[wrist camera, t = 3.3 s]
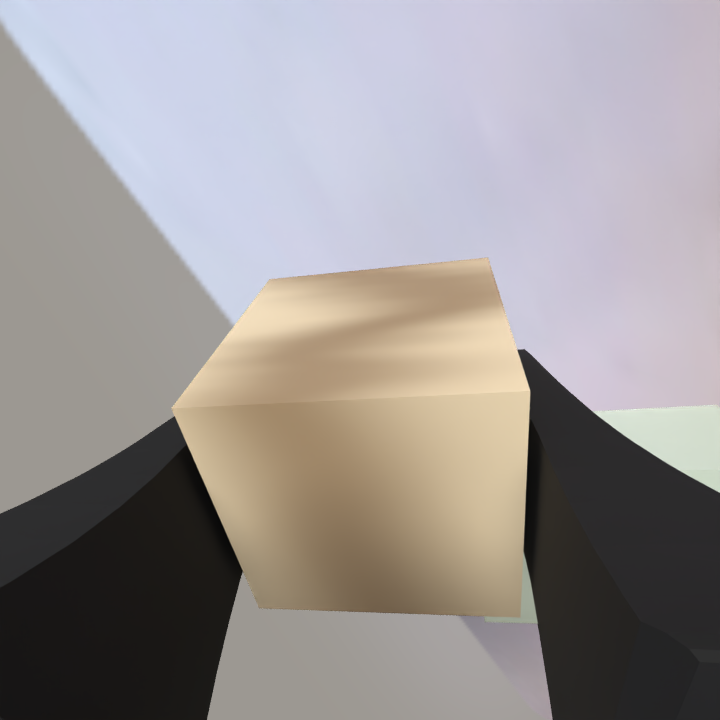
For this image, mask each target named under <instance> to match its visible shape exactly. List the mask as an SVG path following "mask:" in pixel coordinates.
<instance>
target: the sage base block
mask: <svg viewBox="0 0 720 720" xmlns="http://www.w3.org/2000/svg"><path fill="white" fill-rule="evenodd" d="M592 412H594V413H595V414H596V415H598V416H599V417H600V418H601V419H603V420H604V421H605V422H607V423H608V424H609V425H611V426H612V427H613V428H615V429H616V430H617V431H619V432H620V433H622V434H623V435H624V436H626V437H627V438H629V439H630V440H632V441H633V442H635V443H636V444H638V445H639V446H641V447H642V448H644V449H646V450H647V451H649V452H650V453H652V454H653V455H655V456H656V457H658V458H660V459H661V460H663V461H664V462H666V463H667V464H669V465H671V466H673V467H674V468H676V469H678V470H679V471H681V472H683V473H685V474H686V475H688V476H690V477H692V478H694V479H695V480H697V481H699V482H701V483H703V484H705V485H706V486H708V487H710V488H712V489H714V490H716V491H718V492H719V493H720V408H719V407H718V406H717V405H705V406H685V407H666V408H646V409H627V410H608V411H592ZM484 620H485V622H497V623H530V624H538V622H537V616H536V610H535V604H534V599H533V593H532V587H531V581H530V577H529V572H528V568H527V564H526V559H525V556H524V552H523V571H522V594H521V617H520V618H517V617H489V616H484Z"/></svg>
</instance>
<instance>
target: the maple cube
mask: <svg viewBox="0 0 720 720" xmlns="http://www.w3.org/2000/svg"><path fill="white" fill-rule="evenodd" d="M529 410H530V388H529V385H528V382H527V379H526V376H525V373H524V370H523V366H522V363H521V360H520V357H519V354H518V351H517V348H516V344H515V341H514V338H513V335H512V332H511V329H510V326H509V322H508V319H507V316H506V313H505V310H504V307H503V304H502V300H501V297H500V294H499V291H498V288H497V285H496V282H495V278H494V275H493V272H492V269H491V266H490V263H489V260H488V258H479V259H469V260H459V261H449V262H439V263H429V264H419V265H409V266H399V267H389V268H379V269H369V270H359V271H349V272H339V273H328V274H318V275H308V276H298V277H288V278H278V279H269V281H268V282H267V283H266V285H265V286H264V287H263V289H262V290H261V291H260V292H259V294H258V295H257V296H256V298H255V299H254V300H253V302H252V303H251V304H250V306H249V307H248V308H247V310H246V311H245V312H244V314H243V315H242V316H241V318H240V319H239V320H238V321H237V323H236V324H235V325H234V327H233V328H232V330H231V331H230V332H229V333H228V335H227V336H226V337H225V339H224V340H223V341H222V343H221V344H220V345H219V346H218V348H217V349H216V350H215V352H214V353H213V355H212V356H211V357H210V358H209V360H208V361H207V363H206V364H205V365H204V366H203V368H202V369H201V370H200V372H199V373H198V374H197V376H196V377H195V378H194V379H193V381H192V382H191V384H190V385H189V386H188V387H187V389H186V390H185V391H184V393H183V394H182V395H181V396H180V398H179V399H178V400H177V402H176V403H175V404H174V406H173V407H172V411H173V413H174V415H175V418H176V420H177V422H178V425H179V427H180V429H181V431H182V434H183V436H184V438H185V440H186V443H187V445H188V447H189V450H190V452H191V454H192V456H193V459H194V461H195V463H196V465H197V468H198V470H199V472H200V475H201V477H202V479H203V481H204V484H205V486H206V488H207V491H208V493H209V495H210V497H211V500H212V502H213V504H214V506H215V509H216V511H217V513H218V516H219V518H220V520H221V522H222V525H223V527H224V529H225V531H226V534H227V536H228V538H229V541H230V543H231V545H232V547H233V550H234V552H235V554H236V556H237V559H238V561H239V563H240V566H241V568H242V570H243V572H244V575H245V577H246V579H247V581H248V584H249V586H250V588H251V591H252V593H253V595H254V597H255V600H256V602H257V604H258V607H259V608H266V609H268V608H269V609H293V610H294V609H295V610H322V611H349V612H378V613H379V612H380V613H405V614H406V613H408V614H433V615H435V614H436V615H461V616H489V617H517V618H520V617H521V594H522V571H523V548H524V525H525V502H526V479H527V456H528V433H529Z"/></svg>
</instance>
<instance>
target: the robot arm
mask: <svg viewBox="0 0 720 720" xmlns="http://www.w3.org/2000/svg"><path fill="white" fill-rule="evenodd" d="M517 351H518V354H519V357H520V360H521V363H522V366H523V370H524V373H525V376H526V379H527V382H528V385H529V388H530V410H529V433H528V456H527V479H526V502H525V525H524V548H523V552H524V556H525V559H526V564H527V568H528V572H529V577H530V581H531V587H532V593H533V599H534V604H535V610H536V616H537V622H538V628H539V634H540V641H541V647H542V653H543V659H544V666H545V672H546V678H547V684H548V691H549V697H550V704H551V711H552V717H553V720H720V493H719V492H718V491H716V490H714V489H712V488H710V487H708V486H706V485H705V484H703V483H701V482H699V481H697V480H695V479H694V478H692V477H690V476H688V475H686V474H685V473H683V472H681V471H679V470H678V469H676V468H674V467H673V466H671V465H669V464H667V463H666V462H664V461H663V460H661V459H660V458H658V457H656V456H655V455H653V454H652V453H650V452H649V451H647V450H646V449H644V448H642V447H641V446H639V445H638V444H636V443H635V442H633V441H632V440H630V439H629V438H627V437H626V436H624V435H623V434H622V433H620V432H619V431H617V430H616V429H615V428H613V427H612V426H611V425H609V424H608V423H607V422H605V421H604V420H603V419H601V418H600V417H599V416H598V415H596V414H595V413H594V412H592V411H591V410H590V409H589V408H588V407H586V406H585V405H584V404H583V403H582V402H581V401H580V400H578V399H577V398H576V397H575V396H574V395H573V394H571V393H570V392H569V391H568V390H567V389H566V388H565V387H564V386H563V385H561V384H560V383H559V382H558V381H557V380H556V379H555V378H554V377H553V376H552V375H551V374H550V373H549V372H548V371H547V370H546V369H545V368H544V367H543V366H542V365H541V364H540V363H539V362H538V361H537V360H536V359H535V358H534V357H533V356H532V355H531V354H530V353H528V352H527V351H526V350H525V349H523V350H517ZM242 572H243V570H242V568H241V566H240V563H239V561H238V559H237V556H236V554H235V552H234V550H233V547H232V545H231V543H230V541H229V538H228V536H227V534H226V531H225V529H224V527H223V525H222V522H221V520H220V518H219V516H218V513H217V511H216V509H215V506H214V504H213V502H212V500H211V497H210V495H209V493H208V491H207V488H206V486H205V484H204V481H203V479H202V477H201V475H200V472H199V470H198V468H197V465H196V463H195V461H194V459H193V456H192V454H191V452H190V450H189V447H188V445H187V443H186V440H185V438H184V436H183V434H182V431H181V429H180V427H179V425H178V422H177V420H176V418H175V416H174V417H173V418H171V419H170V420H168V421H167V422H165V423H164V424H162V425H161V426H160V427H158V428H156V429H155V430H154V431H152V432H151V433H149V434H148V435H146V436H145V437H143V438H142V439H140V440H139V441H137V442H136V443H134V444H133V445H131V446H130V447H128V448H126V449H125V450H123V451H121V452H120V453H118V454H117V455H115V456H113V457H111V458H110V459H108V460H107V461H105V462H103V463H101V464H100V465H98V466H96V467H94V468H92V469H91V470H89V471H87V472H85V473H83V474H81V475H80V476H78V477H76V478H74V479H72V480H70V481H68V482H66V483H64V484H62V485H60V486H58V487H56V488H54V489H52V490H50V491H48V492H46V493H44V494H42V495H40V496H38V497H36V498H34V499H32V500H30V501H28V502H25V503H23V504H21V505H19V506H17V507H14V508H12V509H10V510H8V511H6V512H3V513H1V514H0V720H207V716H208V712H209V707H210V702H211V697H212V693H213V688H214V683H215V679H216V674H217V669H218V665H219V661H220V657H221V653H222V649H223V644H224V640H225V636H226V632H227V628H228V624H229V619H230V616H231V612H232V608H233V605H234V601H235V597H236V593H237V590H238V586H239V582H240V578H241V575H242Z"/></svg>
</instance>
